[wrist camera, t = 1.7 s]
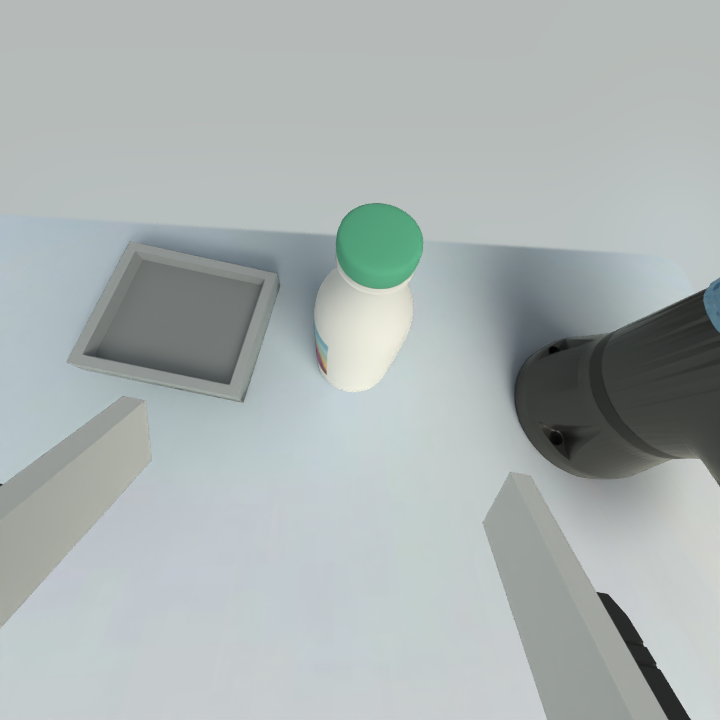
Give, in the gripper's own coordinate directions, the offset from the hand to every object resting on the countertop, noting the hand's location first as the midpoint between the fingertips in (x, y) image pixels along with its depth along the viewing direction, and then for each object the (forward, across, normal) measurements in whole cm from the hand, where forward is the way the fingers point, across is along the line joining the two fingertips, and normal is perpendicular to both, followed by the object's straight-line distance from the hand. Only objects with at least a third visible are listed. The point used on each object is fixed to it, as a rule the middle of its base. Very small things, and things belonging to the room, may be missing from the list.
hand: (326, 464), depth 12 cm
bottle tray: (+23, -18, -7) cm, 30 cm away
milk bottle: (+23, 0, -7) cm, 24 cm away
